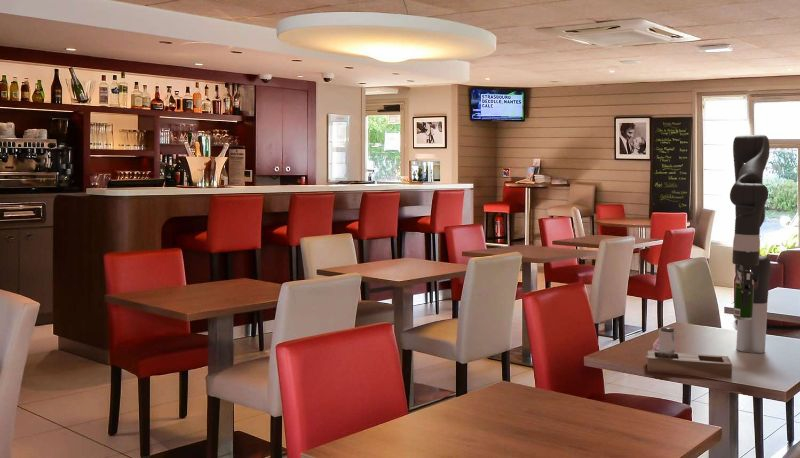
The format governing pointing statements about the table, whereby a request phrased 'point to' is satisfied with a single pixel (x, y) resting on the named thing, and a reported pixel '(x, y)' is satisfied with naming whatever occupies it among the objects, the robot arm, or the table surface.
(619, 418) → the table surface
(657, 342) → the lily
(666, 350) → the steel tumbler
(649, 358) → the caddy
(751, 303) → the beer can
